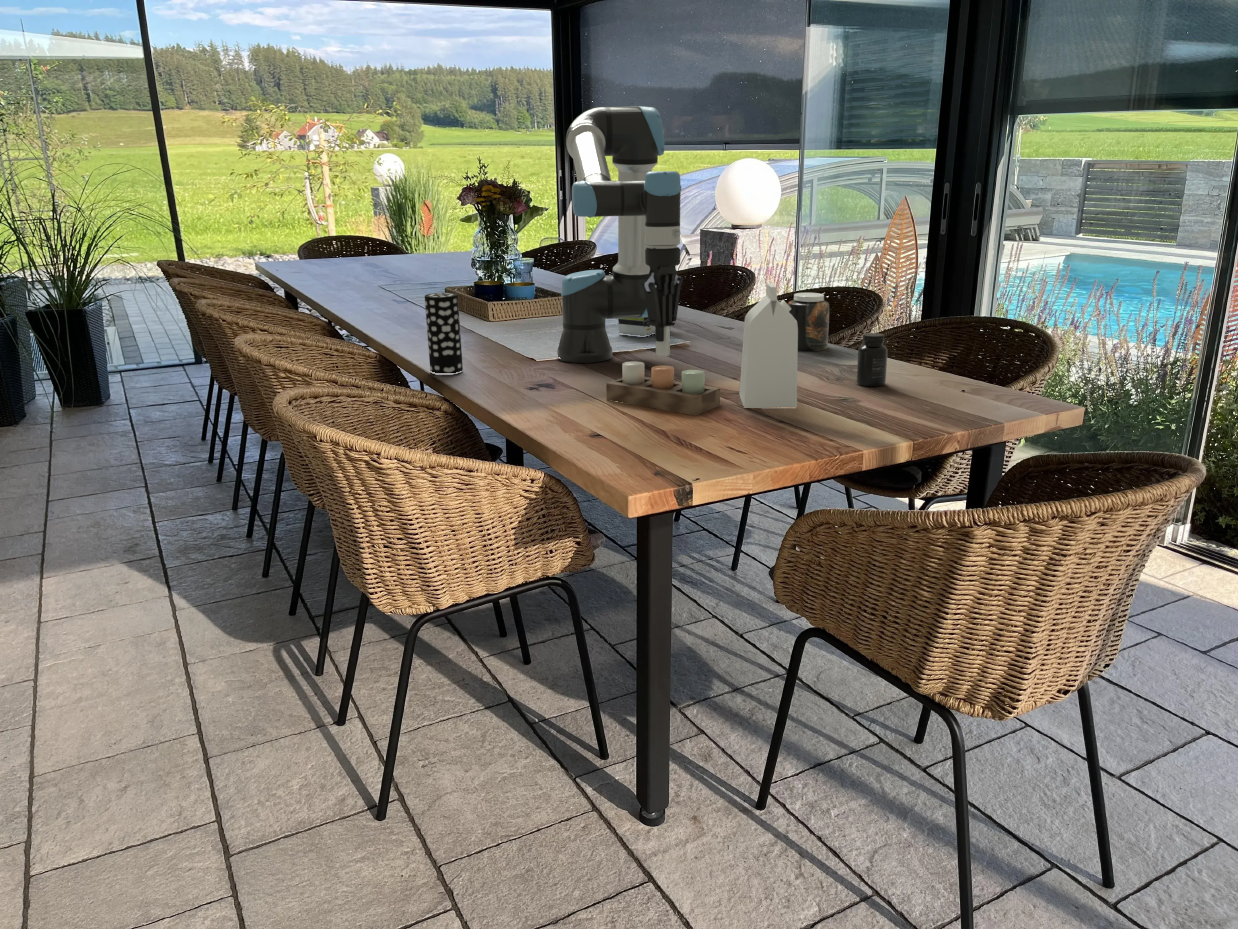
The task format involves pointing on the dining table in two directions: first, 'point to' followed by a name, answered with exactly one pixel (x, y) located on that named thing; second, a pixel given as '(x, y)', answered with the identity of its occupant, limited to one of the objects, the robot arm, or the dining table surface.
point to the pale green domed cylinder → (693, 381)
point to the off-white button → (633, 373)
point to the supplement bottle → (872, 360)
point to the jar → (811, 320)
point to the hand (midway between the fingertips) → (662, 355)
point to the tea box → (635, 326)
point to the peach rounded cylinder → (662, 377)
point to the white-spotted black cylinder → (443, 332)
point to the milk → (769, 354)
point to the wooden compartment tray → (663, 397)
